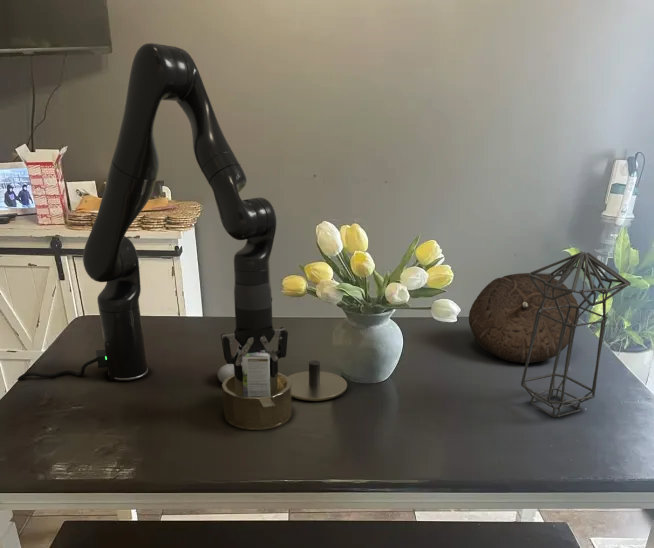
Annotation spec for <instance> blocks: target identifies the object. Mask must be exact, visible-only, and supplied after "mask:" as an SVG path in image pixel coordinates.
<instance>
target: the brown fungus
mask: <svg viewBox="0 0 654 548" xmlns="http://www.w3.org/2000/svg"><path fill="white" fill-rule="evenodd" d="M529 274H530V272H524V273H523V272H521V273H520V272H519V273H512V274H507V275H503V276H502V277H496V278H495V279H493V280H491V281H490V282H489V283H488V284H486V286H484V288H482V290H481V291H480V292H479V294H478V295H477V297H476V298H475V300H474V301H473V303H472V304H471V306H470V307H471V308H469V313H468V324H469V328H470V330H471V333H472V336H473V337H474V339H475V340H476V341H477V343H478V344H479V345H480V346H481V347H482V348H483V349H485V350H486V351H488V352H490V353H491V354H493V355H494V356H496V357H498V358H500V359H501V360H505V361H508V362H513V363H519V364H520V363H521V364H526V360H527V355H528V350H529V346H530V341H531V336H532V331H533V327H534V322H535V317H536V313H537V311H538V309H539V307H540V305H541V303H542V300H543V298H544V297H543V296H542V294H541V293H540V292H539V290H538V289H537V287H536V286H535V285H534V283H533V282H532V280H531V279H530V277H529ZM536 276H538V277H539V278H541V279H543V280H545V281H547V280H549V279H550V276H545V275H536ZM534 280H535V281H536V283H537V284H538V285H539V287H540V288H541V290H542V291H543V293H544V283H542V282H541V281H539V280H536V279H534ZM558 280H559V279H557V278H554V279H553V280H551V284H552V285H555V284H556V283H557V282H558ZM558 285H559V284H558ZM561 287H562V288H567V289H569V288H568V286H566V284H564V283H563V284H562V285H561ZM547 289H548V286H547V285H546V291H547ZM546 291H545V294H546ZM565 292H567V291H564V293H565ZM560 294H563V292H562V290H558V289H554V297H555V296H558V295H560ZM547 296H550V297H552V287H550V290H549V292H548V295H547ZM566 297H567V299H568V301H569V302H570V304H571V305H574V306H579V303H578V301H577V299H576V297H575V296H574V295H573V293H570V294H568V295H566ZM557 302H558V304H559V306H564V305H569V304H568V302H567V300H566V298H565V296H562V297H560V298H557ZM551 307H557V306H556V303H555V301H554V300H552V299H547V298H546V301H545V303H544V306H543V309H545V308H551ZM568 307H569V306H568ZM568 307H562V308H560V310H561V312H562V315H563V317H564V320H566V316H567V311H568ZM576 310H577V309H576V308H571V309H570V314H569V318H568V322H567V324H571V323H572V322H573V321H574V320H575V315H576ZM541 313H543V314H545V315H547V316H549V317H552V318H554V319H556V320H558V321H561V322H563V321H562V319H561V316H560V314H559V311H558V309H557V308H555V309H549V310H543V311H541ZM579 315H580V310H579V311H578V316H579ZM579 319H580V317H579V318H578V319H577V323H576V325H577V324H579ZM572 325H574V323H573V324H572ZM561 328H562V324H560V323H558V322H556V321H554V320H552V319H549V318H547V317H545V316H543V315H540V320H539V324H538V328H537V332H536V336H535V340H534V344H533V347H532V351H531V355H530V359H529V363H528V364H533V363H540V362H543V361H546V360H549V359H552V358H554V357H556V353H557V348H558V343H559V338H560V333H561ZM576 329H577V327H576V328H575V330H576ZM569 334H570V327H568V326H567V327H566V331H565V335H564V339H563V343H562V348H561V352H562V351H563V350H564V349H566V347H568V341H569Z"/></svg>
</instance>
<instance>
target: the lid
mask: <svg viewBox="0 0 654 548" xmlns="http://www.w3.org/2000/svg"><path fill="white" fill-rule="evenodd" d="M287 377H288V378H289V380H290V381H291V396H292V398H295V399H297V400H302V401H310V402H311V401H315V402H319V401H328V400H332V399H335V398H338V397H340V396H342V395H343V394H345V392H346V391H347V389H348V383H347V380H346V379H345V378H344V377H342V376H341V375H338V374H336V373H333V372H329V371H323V370H321V362H320V361H319V360H310V361H309V362H308V370H305V371H300V372H296V373H295V372H294V373H292V374H289V375H288V376H287Z"/></svg>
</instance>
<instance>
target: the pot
mask: <svg viewBox="0 0 654 548" xmlns="http://www.w3.org/2000/svg"><path fill="white" fill-rule="evenodd" d="M242 373H243V370H242ZM221 392H222V405H223V408H222V409H223V415H224V419H225V421H226V422H227V423H228V424H229V425H231V426H233V427H235V428H238V429H242V430H247V431H264V430H272V429H274V428H278V427H281V426H283V425H284V424H286V423H287V422H288V421H289V420H290V419H291V417H292V411H293V409H292V407H293V406H292V405H293V403H292V402H293V401H292V400H293V399H292V398H293V397H292V396H291V381H290V380H289V378H288V376H287V375H285V374H283V373H281V372H279V371H278V373H277V374H275V377H271V375H270V395H269V396H262V397H246V396H243V381H242V382H239V380H238V379H236V377H235V375H234V374H233V375H231V376H229V377H228V378H226V379H225V380H224V382H223V383H222V384H221Z"/></svg>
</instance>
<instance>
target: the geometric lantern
mask: <svg viewBox="0 0 654 548" xmlns="http://www.w3.org/2000/svg"><path fill="white" fill-rule="evenodd" d="M562 263H563V264H562ZM560 264H562V265H560ZM557 265H560V266H559V267H558V268H556V269H555V270H553V271H552V272H543V271H545V270H548V269H550V268H552V267H555V266H557ZM590 269H591V270H590ZM574 270H576V271H575V275H574V278H573V282H572V287H571V289H570V288H568V287H567V288H568V289H567V288H562V287H561V285H562V284H564V282H565V281H567V279H568V278H569V277H570V275H571V274H573V272H574ZM603 270H604V271H605V272H606V273H607V274H609V275H610V276H612V277H613V278H609V276H608V275H607V274H606V273H605V272H604V271H603ZM581 271H582V272H583V280H582V281H583V282H582V289H580V290H579V291H578V290H577V286H578V281H579V278H580V274H581ZM529 273H530V274H529V277H530V279H531V280H532V282H533V283H534V285H535V286H536V287H537V289H538V290H539V292H540V293H541V294H542V296H543V297H544V298H543V300H542V303H541V305H540V307H539V309H538V311H537V313H536V317H535V322H534V327H533V331H532V336H531V341H530V346H529V350H528V355H527V360H526V363H525V364H524V370H523V373H522V378H521V381H520V386H521V387H522V388H524V390H525V391H526V392H527V393H528V394H529V395H530V396H531V398H530V404H531V405H532V406H534V407H536V408H538V409H539V410H540V411H542V412H544V413H546V414H547V415H549V416H551V417H552V418H560V417H563V416H568V415H571V414H574V413H578V412H581V409H580V408H581V404H582V403H584V402H587V401H590V400H591V399H594V398H596V388H597V383H598V382H597V381H598V375H599V374H598V372H599V365H600V359H601V354H602V348H603V347H602V346H603V341H604V335H605V329H606V324H607V319H608V317H607V316H606V314H607V301H608V300H610V299H611V298H612V297H614V296H615V295H617V294H619V292H621V291H623V290H624V289H625V288H627V287H628V286H629V287H630V286H632V285H631V283H632V282H630V280H628V279H626V278H625V277H623V276H622V275H621V274H619V273H618V272H616V271H615V270H614V269H613V268H611V267H610V266H608V265H606V264H605V263H604V262H603V261H601V260H600V259H599V258H597V257H596V256H594V255H593V254H592V253H590V252H586V251H582V250H581V251H580V252H577V253H575V254H572V255H570V256H567V257H565V258H563V259H561V260H558V261H555V262H553V263H550V264H548V265H545V266H543V267H540V268H538V269H535V270H533V271H531V272H529ZM536 275H545V276H550V279H549V280H547V281H545V280H543V279H541V278H539V277H538V276H536ZM592 276H593V277H595V278H596V280H597V282H598V285H597V286H596V284H595V283H594V281H593V279H592ZM556 277H559V279H557V280H558V282H557V283H556V284H555V285H552V284H551V280H553V279H556ZM586 278H587V280H588V282H589V283H588V284H589V286H590V288H589V289H586V288H585V285H586ZM534 279H536V280H539V281H541V282H542V283H544V293H543V291H542V290H541V288H540V287H539V285H538V284H537V283H536V281H535V280H534ZM603 282H606V283H609V284H608V286H607V288H606V286H605V284H604V283H603ZM612 283H618V284H616V285H614V286H613V287H612ZM558 284H559V285H558ZM546 285H547V286H548V289H547V291H546ZM550 287H552V297H550V296H547V295H548V292H549V290H550ZM554 289H558V290H562V292H563V294H560V295H558V296H555V297H554ZM545 291H546V294H545ZM564 291H567V292H565V293H564ZM612 291H613V292H612ZM597 292H598V293H600V294H602V299H601V300H599V301H596V299H597ZM609 292H612V293H611V294H609ZM570 293H572V294H573V293H576V294H580V295H581V297H582V298H583V300H582V301H581V302H580V303H579V304H578V306H574V305H571V304H570V302H569V301H568V299H567V297H566V295H568V294H570ZM585 293H589V294H588V295H586V294H585ZM608 294H609V295H608ZM592 295H593V301H591V300H590V298H591V296H592ZM562 296H565V298H566V300H567V302H568V304H569V305H564V306H559V304H558V302H557V298H560V297H562ZM546 298H547V299H552V300H554V301H555V303H556V306H557V307H551V308H545V309H543V306H544V303H545V301H546ZM586 302H587V304H588V305H587V306H586V307H582V306H583V305H584V304H585V303H586ZM600 304H602V314H601V313H598V312H596V311H594V310H590V309H589V308H590V307H595V306H597V305H600ZM568 306H569V307H568ZM562 307H568V311H567V316H566V320H564V317H563V315H562V312H561V310H560V308H562ZM555 308H557V309H558V311H559V314H560V316H561V319H562V321H563V322H561V321H558V320H556V319H554V318H552V317H549V316H547V315H545V314H543V313H541V311H543V310H549V309H555ZM571 308H576V309H577V310H576V315H575V320H574V321H573V322H572V323H571V324H567V322H568V318H569V314H570V309H571ZM580 310H582V311H581V312H580ZM578 311H579V312H580V313H579V316H578ZM584 312H587V313H591V314H593V315H595V316H598V317H601V318H602V319H601V320H597V321H591V322H590V321H589V322H584V323H577V319H578V318H579V319H580V317H581V316H582V315H583V314H584ZM540 315H543V316H545V317H547V318H549V319H552V320H554V321H556V322H558V323H560V324H562V328H561V333H560V338H559V343H558V348H557V353H556V356H555V359H554V362H553V363H554V364H553V368H552V373H550V374H545V375H540V376H535V377H531V378H526V377H527V371H528V368H529V364H530V363H529V359H530V355H531V351H532V347H533V344H534V340H535V336H536V332H537V328H538V324H539V320H540ZM579 319H578V320H579ZM573 323H574V325H572V324H573ZM576 323H577V325H576ZM593 324H600V327H599V328H600V329H599V337H598V344H597V353H596V361H595V367H594V375H593V379H592V387H589V386H587V385H586V384H583V383H581V382H579V381H578V380H575V379H573V378H572V377H570V376H568V372H569V368H570V362H571V357H572V350H573V344H574V339H575V334H576V329H577V327H583V326H588V325H593ZM567 326H568V327H570V334H569V341H568V344H567V349H566V357H565V362H564V371H563V374H560V373H556V372H557V368H558V364H559V359H560V355H561V352H562V351H561V348H562V343H563V339H564V335H565V331H566V327H567ZM575 328H576V329H575ZM555 377H558V378H562V380H561V381H560V384H559V385H558V386H557V388H556V378H555ZM546 378H551V379H550V384H549V389H545V390H542V391H539V392H536V391H535V390H533V389H532V388H529V386H528V385H527V382H531V381H536V380H541V379H546ZM567 380H569V381H571V382H572V383H574V384H576V385H578V386H580V387H581V388H584V389H587V390H588V391H590V392H588V393H586V394H585V395H583V396H582V397H576V396H575V395H572V394H570V393H568V392H566V391H565V389H566V381H567ZM554 391H555V392H556V393H555V395H554ZM547 392H548V395H546V396H543V395H541V394H543V393H547ZM559 392H560V393H561V394H560V396H559ZM565 395H566V396H568V397H570V398H571V399H567V400H566V399H564V397H565ZM551 398H557V399H559V400H551ZM537 401H539V402H541V403H542V404H545V405H547V406H548V407H550V408H552V413H550V411H548V410H545V409H544V408H542V407H541V406H539V405H538V404H535V403H534V402H537ZM554 404H556V405H557V404H558V406H555V405H554ZM563 404H565V405H563ZM571 406H572V407H574V408H575V409H576V410H573V411H569V412H565V413H562V414H560V412H561V409H563V408H566V407H571ZM555 410H557V414H555Z"/></svg>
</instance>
